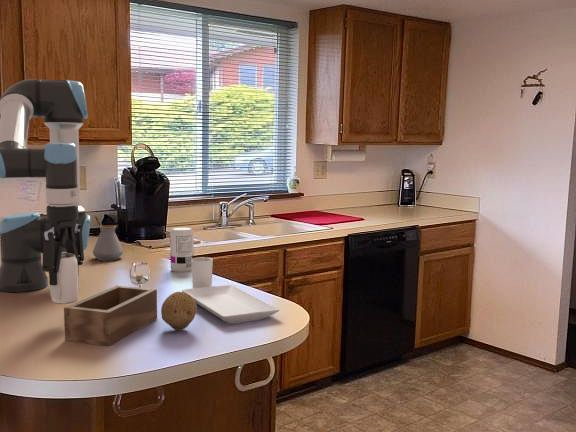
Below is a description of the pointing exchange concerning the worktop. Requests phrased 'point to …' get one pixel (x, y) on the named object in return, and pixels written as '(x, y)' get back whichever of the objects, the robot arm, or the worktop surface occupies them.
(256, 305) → the tray
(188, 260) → the supplement can
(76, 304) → the narrow open box
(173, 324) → the natural sponge
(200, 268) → the white cup
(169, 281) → the worktop surface
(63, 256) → the can
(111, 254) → the coffee pot
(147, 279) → the wineglass
